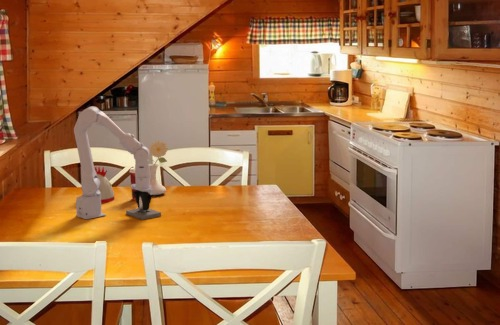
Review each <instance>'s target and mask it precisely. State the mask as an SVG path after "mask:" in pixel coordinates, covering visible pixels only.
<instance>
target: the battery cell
mask: <svg viewBox="0 0 500 325" xmlns="http://www.w3.org/2000/svg"><path fill="white" fill-rule="evenodd" d="M139 213H147V210H143V205H142V199H141V197H140V196H139Z"/></svg>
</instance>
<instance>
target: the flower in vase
mask: <svg viewBox="0 0 500 325" xmlns="http://www.w3.org/2000/svg"><path fill="white" fill-rule="evenodd" d="M149 153H150V156H152V157H154V158H155V157H156V161H155V160H153V159H151V158H150V157H148V159H149V161H152V162H154V163H149V171H150V185H151V186H152V188H153V189H155V194H154V195H153V196H159V195H162V194H165V193H166V192H167V189H166V187H165V186H164V185H163V184H161V183H160V182H158V181H157V170H158V167H159V163H161V164H163V163H166V162H167V163H168V160H167V159H166V158H165V157H163V156H166V153H168V146H167V144H166V142H163V141H160V140H158V141H154V142H153V143H151V145H150V147H149ZM158 161H159V163H157V162H158Z"/></svg>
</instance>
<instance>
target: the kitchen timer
mask: <svg viewBox="0 0 500 325" xmlns="http://www.w3.org/2000/svg"><path fill="white" fill-rule="evenodd" d="M94 169H95V171H96V173H97V177H98V178H99V179H100V181H101V186H100V188H99V191H100V192H101V204H106V203H111V202H113V201H115V192H114V188H113V187H112V183H111V182H110V180H109V179H108V178H107V177H106V176H107V172H108V170H107V169H106V170H105V168H104V166H103V167H102V168H100V166H98V169H97V166H94Z"/></svg>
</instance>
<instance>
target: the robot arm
mask: <svg viewBox="0 0 500 325" xmlns="http://www.w3.org/2000/svg"><path fill="white" fill-rule="evenodd" d="M77 117H78V118H77V119H76V122H75V125H74V127H73V133H74V138H75V143H76V148H77V153H78V157H79V162H80V163H79V164H80V168H81V172H82V173H81V180H82V183H81V192H82V194H81V196H76V200H75V205H76V206H75V207H76V214H75V216H76V217H78V218H81V219H83V220H89V219H94V218H99V217H104V216H106V215H107V214H106V213H103V212H102V203H101V192H100V191H99V188H100V186H101V181H100V179H99V178H98V177H97V173H96V171H95V166H94V160H93V156H92V155H93V154H92V150H91V145H90V140H89V135H88V130H89V129H90V128H91V127H92V125H93V124H94V123H95V125H96V126H99V127H100V126H101V127H104V128H106V129H107V130H108V131H109V132H110V133H111V134H113V135H114V136H115V137H116V138H117V139H118V140H119V142H118V143H119V145H120V146H122V148H124V149H125V150H126V151H127V152H128V153H129V154H131V155H132V156H133V159H134V161H135V165H134V167H135V181H136V184H131V183H130V187H131V188H130V189H135V191H134V192H132V191H131V195H132V194H133V195H134V197H135V199H136V204H137V208H139V196H140V197H141V199H142V205H143V210H148V209H150V204H151V201H152V198H153V197H154V196H155V195H154V194H155V189H153V188H152V186H151V185H150V180H151V171H150V168H149V164H150V155H151V153H150V151H149V150H150V148H148V146H146V145H144V143H143V142H139V140H138V139H136V137H135V134H132V133H130V132H127V133H126V132H124V131H123V130H122V129H121V128H120V127H119V126H118V125H117V124H116V123H115V122H114V121H113V120H112V119H111V118H110V117H109V116H108V115H107V114H106V113H104V111H102V110H100V109H99V108H98V107H97V106H93V105H92V106H88V107H87V108H85V109H83V110H82V111H81V112H80V113H79V115H78V116H77ZM148 158H149V159H148Z"/></svg>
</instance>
